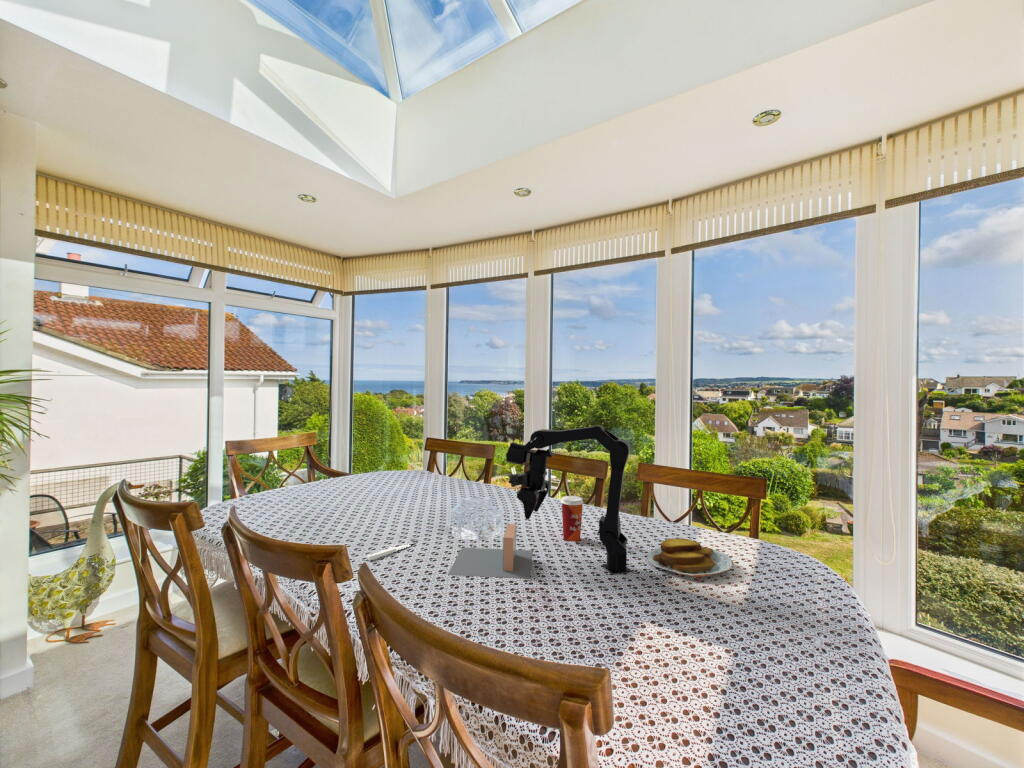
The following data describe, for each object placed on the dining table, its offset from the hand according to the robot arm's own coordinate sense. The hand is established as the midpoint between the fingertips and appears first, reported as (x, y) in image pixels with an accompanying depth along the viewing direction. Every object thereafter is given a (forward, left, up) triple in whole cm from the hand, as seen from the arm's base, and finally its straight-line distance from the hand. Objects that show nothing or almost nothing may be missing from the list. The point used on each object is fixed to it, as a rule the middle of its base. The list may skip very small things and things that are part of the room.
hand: (531, 515), depth 148 cm
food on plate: (-19, -46, -14) cm, 52 cm away
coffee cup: (+12, -20, -14) cm, 27 cm away
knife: (+21, +40, -14) cm, 48 cm away
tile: (-4, +9, -13) cm, 16 cm away
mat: (-2, +13, -14) cm, 19 cm away
